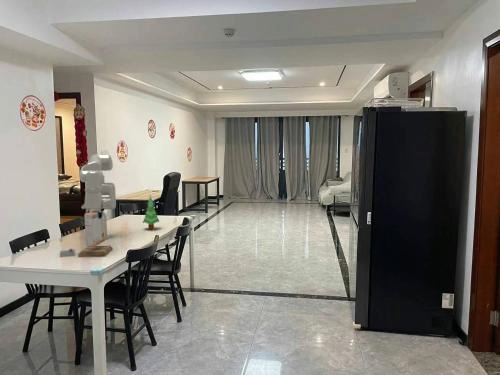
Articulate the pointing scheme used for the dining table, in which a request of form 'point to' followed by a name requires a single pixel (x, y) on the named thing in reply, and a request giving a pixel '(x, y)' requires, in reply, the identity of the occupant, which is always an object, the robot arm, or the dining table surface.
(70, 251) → the bracket
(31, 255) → the dining table surface
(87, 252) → the plinth
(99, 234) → the cracker box
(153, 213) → the decorative tree
